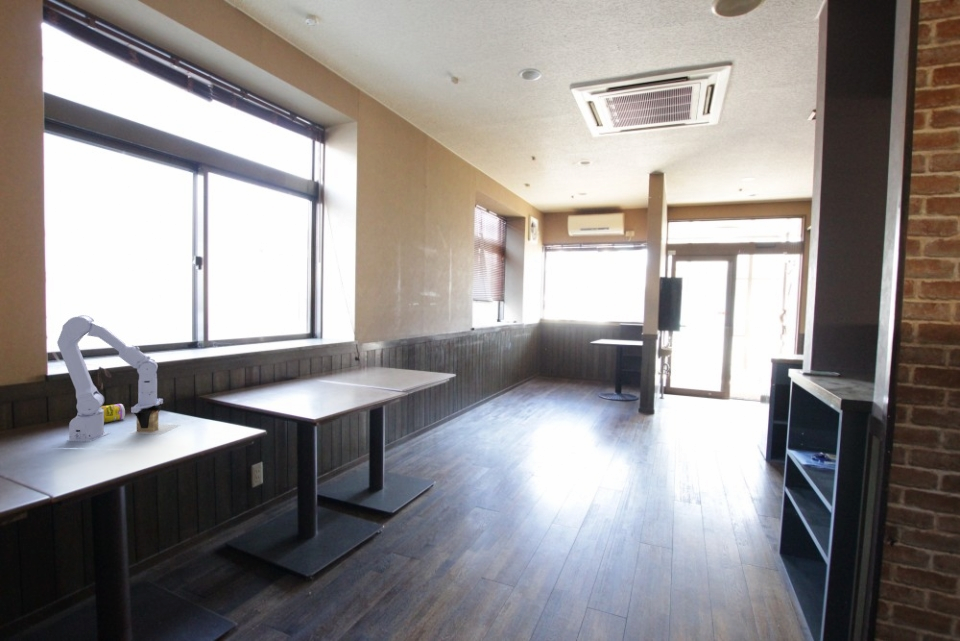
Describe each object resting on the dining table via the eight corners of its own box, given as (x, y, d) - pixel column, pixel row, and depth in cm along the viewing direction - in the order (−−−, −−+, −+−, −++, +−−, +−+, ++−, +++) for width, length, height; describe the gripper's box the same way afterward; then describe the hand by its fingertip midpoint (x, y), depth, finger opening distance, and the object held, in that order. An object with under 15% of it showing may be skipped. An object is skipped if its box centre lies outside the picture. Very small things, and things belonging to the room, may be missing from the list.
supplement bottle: (126, 414, 181) (86, 421, 170) (122, 422, 184) (81, 429, 173) (122, 400, 183) (82, 406, 172) (118, 408, 186) (78, 414, 175)
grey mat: (160, 435, 166) (161, 434, 166) (130, 434, 166) (130, 433, 166) (180, 426, 178) (180, 425, 178) (152, 425, 178) (152, 424, 178)
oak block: (153, 431, 168) (153, 412, 168) (136, 431, 168) (136, 412, 168) (158, 429, 171) (158, 410, 171) (142, 429, 171) (142, 410, 171)
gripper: (145, 396, 162) (145, 432, 163) (170, 387, 177) (170, 421, 177) (125, 395, 162) (125, 432, 162) (152, 387, 176) (152, 421, 177)
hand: (147, 426), depth 170 cm, fingers closed on oak block, 3 cm apart
